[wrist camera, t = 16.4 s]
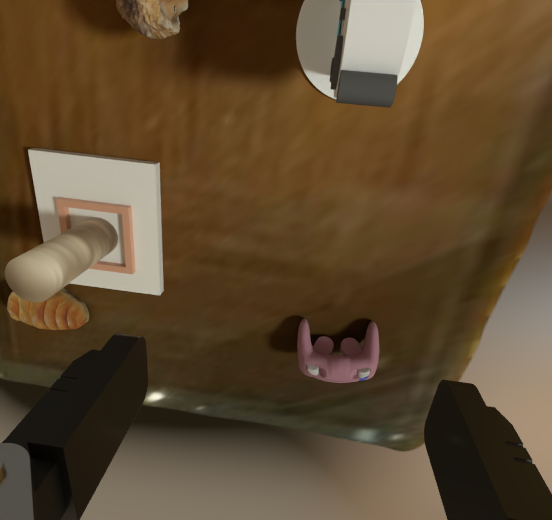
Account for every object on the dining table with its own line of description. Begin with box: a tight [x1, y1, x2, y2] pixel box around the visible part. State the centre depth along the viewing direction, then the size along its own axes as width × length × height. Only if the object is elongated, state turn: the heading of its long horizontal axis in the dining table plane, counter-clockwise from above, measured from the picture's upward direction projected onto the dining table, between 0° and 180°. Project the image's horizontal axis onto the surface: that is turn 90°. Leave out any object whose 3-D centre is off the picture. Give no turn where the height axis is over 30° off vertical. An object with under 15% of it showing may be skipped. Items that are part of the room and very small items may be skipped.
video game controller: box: [297, 319, 379, 383], centre depth 47 cm, size 10×5×7 cm, turn 91°
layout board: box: [28, 148, 163, 295], centre depth 45 cm, size 16×14×2 cm
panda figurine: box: [296, 0, 424, 108], centre depth 29 cm, size 12×11×15 cm
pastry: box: [7, 288, 89, 330], centre depth 50 cm, size 9×7×4 cm
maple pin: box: [5, 217, 118, 302], centre depth 40 cm, size 4×4×12 cm
